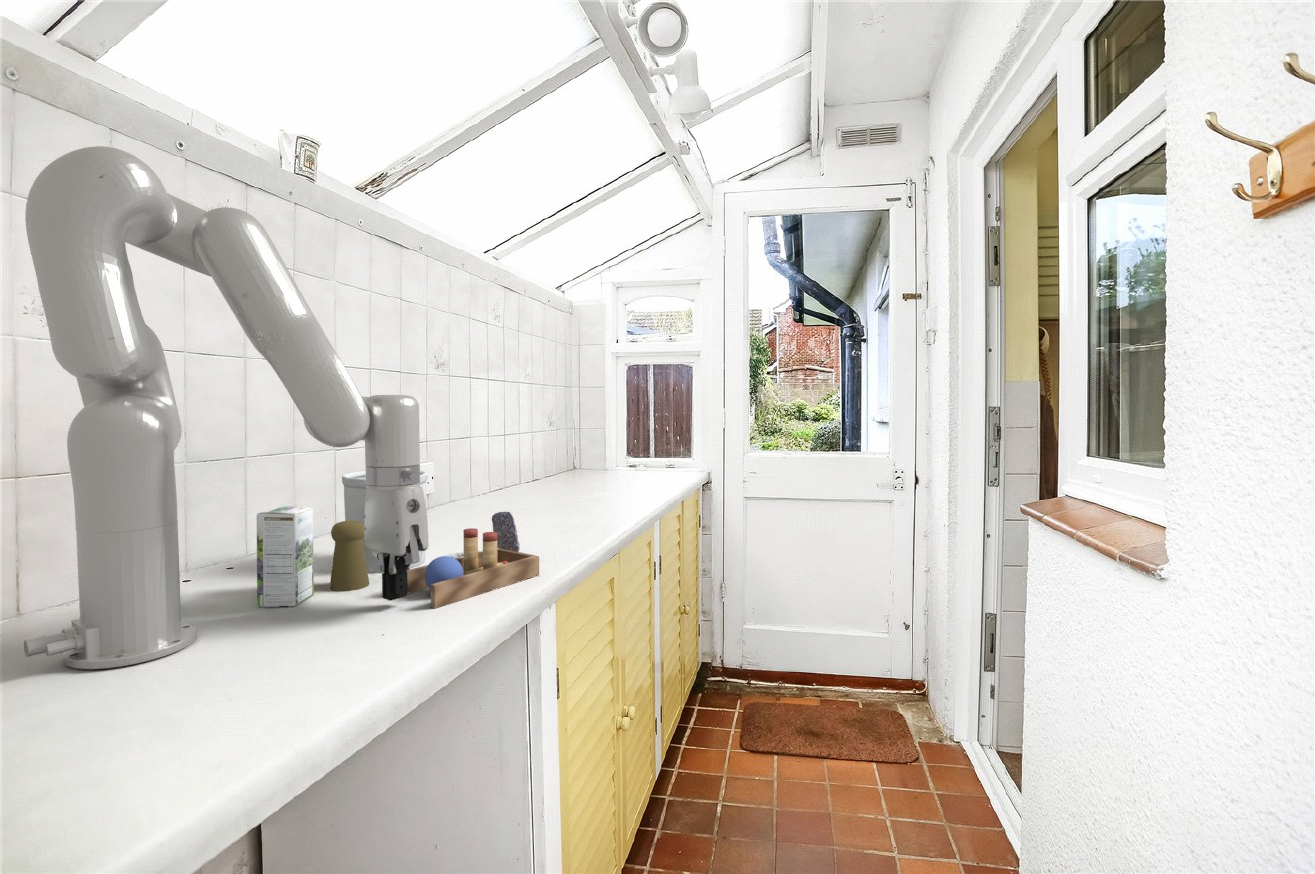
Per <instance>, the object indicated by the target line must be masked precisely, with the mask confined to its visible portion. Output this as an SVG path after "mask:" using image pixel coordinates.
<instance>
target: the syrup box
mask: <svg viewBox="0 0 1315 874" xmlns="http://www.w3.org/2000/svg"><path fill="white" fill-rule="evenodd" d="M256 583H257V584H256V594H257V595H256V601H257V602H256V606H257V607H258V608H280V607H279V606H288V607H297V606H298V605H300V604H302V603H303V602H305V601H306V600H308V599H309V598H311V597H313V596H314V508H312V507H308V506H301V505H300V506H297V505H290V506H287V505H286V506H279V507H278V506H277V507H274V508H271V509H268V510H265V511H262V512H261V511H260V512H258V513H256Z"/></svg>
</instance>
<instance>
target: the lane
mask: <svg viewBox="0 0 1315 874" xmlns="http://www.w3.org/2000/svg"><path fill="white" fill-rule="evenodd" d="M454 558H455V559H456V560H457V561H458V562H459V563H460V564H461V566H462V568H463V573H464V555H462V556H459V557H454ZM503 561H507V562H509V563H506V564H503V565H499V566H495V567H492V568H488V569H485V570H481V571H477V572H474V573H470V574H467V575H463V576H460V577H456V578H452V579H449V580H445V581H442V582H438V583H434V584H431V589H430V608H431V609H438V608H441V607H444V605H445V606H448V605H451V604H454V603H457V602H461V601H463V600H465V599H466V598H467V599H469V597H470V598H472V596H473V597H475V595H476V596H479V595H482V594H484V592H485V593H488V592H487V591H489V592H491V591H490V590H492V591H494V590H493V589H495V590H497V589H496V588H498V589H501V588H504V587H507V586H511V585H513V583H514V584H516V582H517V583H519V582H518V581H520V582H523V581H525V580H524V579H526V580H528V579H527V578H529V579H531V578H530V577H532V578H534V577H533V576H536V575H539V576H540V556H539V555H535V554H530V553H525V552H520V551H519V552H516V551H511V550H506V549H501V548H497V563H499V562H503ZM427 566H428V564H427V565H426V564H425V565H422V566H419V567H418V566H417V567H413V568H410V569H409V571H407V582H408V594H409V593H412V592H416V591H420V590H423V589H427V588H428V589H429V587H428V586H427V584H426V582H425V577H424V575H425V570H426V568H427ZM481 567H483V551H478V568H481ZM536 577H537V576H536ZM522 580H523V581H522ZM481 593H482V594H481ZM447 604H448V605H447Z"/></svg>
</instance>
